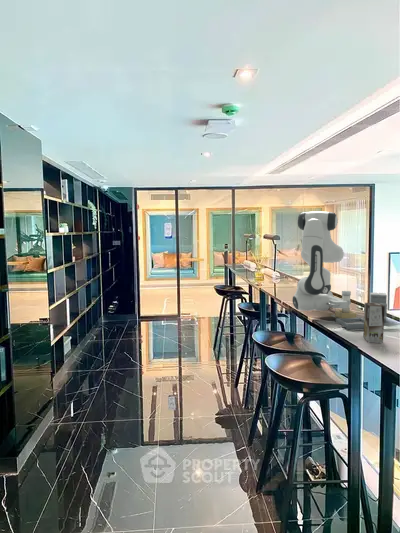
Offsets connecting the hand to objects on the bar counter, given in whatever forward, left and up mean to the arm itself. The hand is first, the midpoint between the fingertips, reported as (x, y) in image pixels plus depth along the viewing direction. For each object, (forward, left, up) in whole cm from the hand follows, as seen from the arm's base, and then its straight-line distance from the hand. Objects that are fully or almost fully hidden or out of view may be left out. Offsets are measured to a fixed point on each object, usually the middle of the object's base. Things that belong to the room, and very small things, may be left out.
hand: (347, 301), depth 213 cm
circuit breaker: (+9, +12, -10) cm, 18 cm away
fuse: (0, -1, -9) cm, 9 cm away
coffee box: (+39, -8, -10) cm, 41 cm away
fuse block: (0, -1, -10) cm, 10 cm away
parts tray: (+15, -4, -10) cm, 19 cm away
